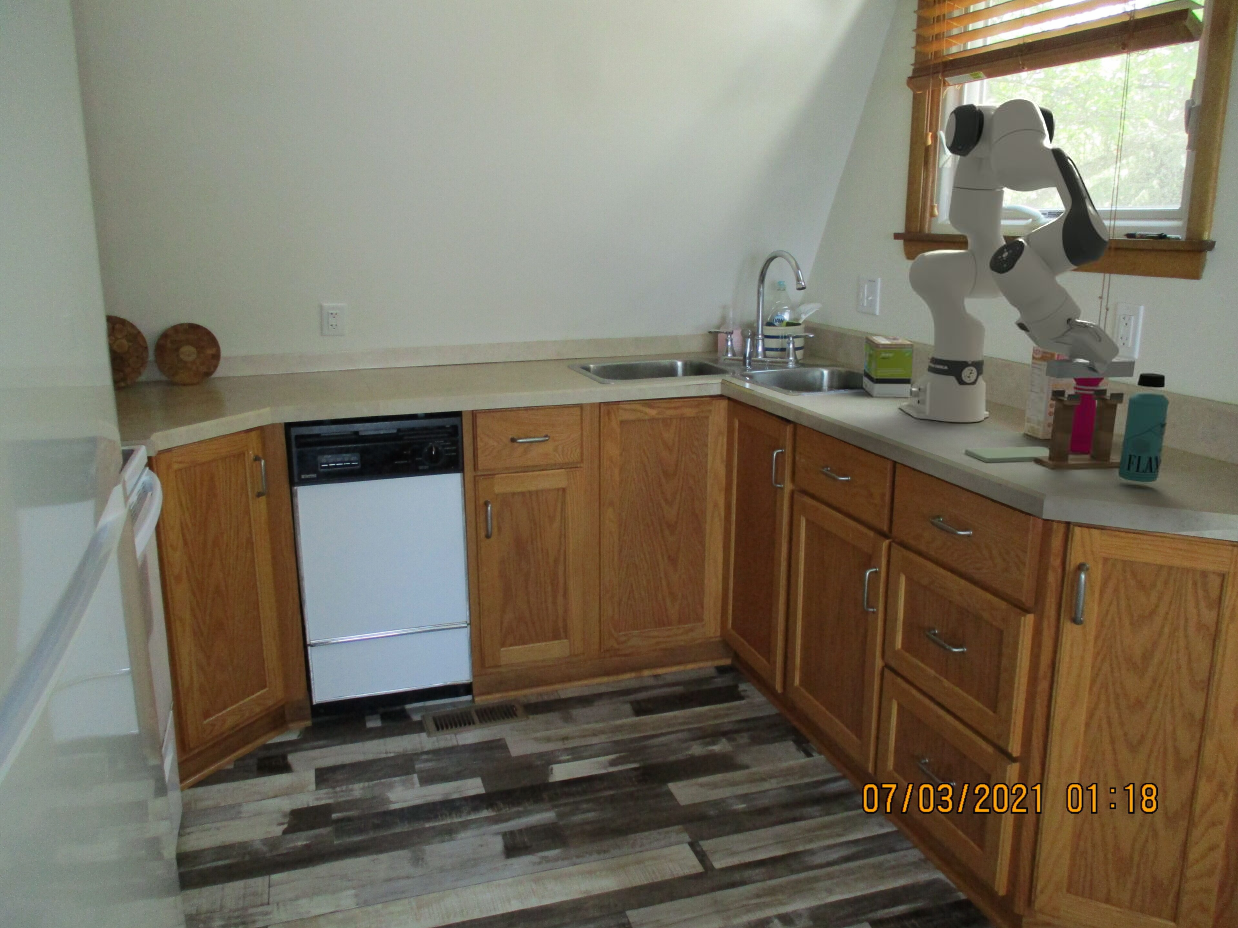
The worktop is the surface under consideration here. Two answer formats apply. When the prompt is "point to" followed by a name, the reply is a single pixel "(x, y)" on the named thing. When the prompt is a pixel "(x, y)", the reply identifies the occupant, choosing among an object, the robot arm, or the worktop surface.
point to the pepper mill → (1084, 415)
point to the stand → (1064, 430)
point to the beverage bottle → (1144, 431)
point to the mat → (1008, 454)
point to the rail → (1088, 368)
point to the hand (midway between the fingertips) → (1093, 368)
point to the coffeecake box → (1045, 394)
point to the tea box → (888, 366)
